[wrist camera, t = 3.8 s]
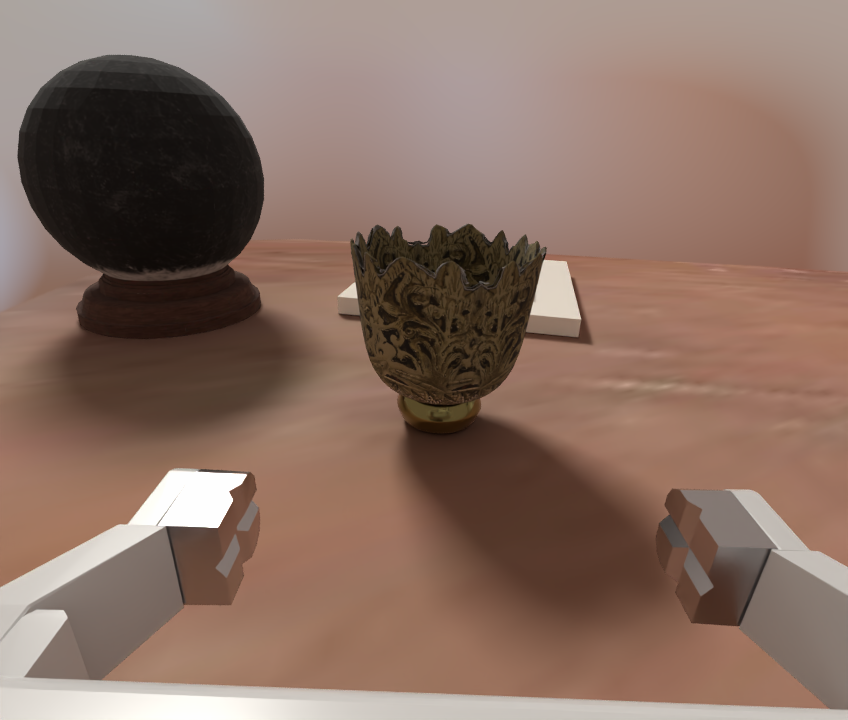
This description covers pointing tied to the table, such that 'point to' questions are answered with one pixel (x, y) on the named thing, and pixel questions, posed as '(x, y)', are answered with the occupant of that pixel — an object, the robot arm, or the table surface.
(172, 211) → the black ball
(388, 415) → the table surface
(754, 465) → the table surface
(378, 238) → the cup
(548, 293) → the tile plinth
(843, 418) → the table surface
